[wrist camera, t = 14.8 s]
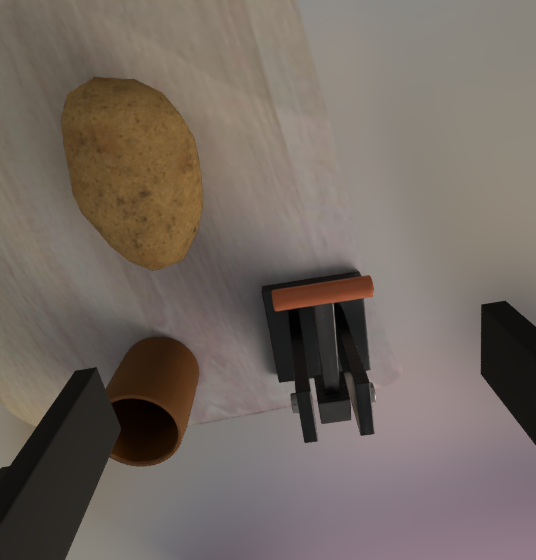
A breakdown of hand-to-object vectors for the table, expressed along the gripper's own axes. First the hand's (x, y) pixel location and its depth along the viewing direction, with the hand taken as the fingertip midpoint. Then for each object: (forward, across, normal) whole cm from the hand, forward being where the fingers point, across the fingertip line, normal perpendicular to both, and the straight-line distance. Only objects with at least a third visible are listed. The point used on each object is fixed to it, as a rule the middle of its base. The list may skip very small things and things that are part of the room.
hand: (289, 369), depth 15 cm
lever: (+13, +2, -7) cm, 15 cm away
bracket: (+24, +2, -12) cm, 27 cm away
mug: (+24, -16, -14) cm, 33 cm away
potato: (+25, -10, +5) cm, 27 cm away
